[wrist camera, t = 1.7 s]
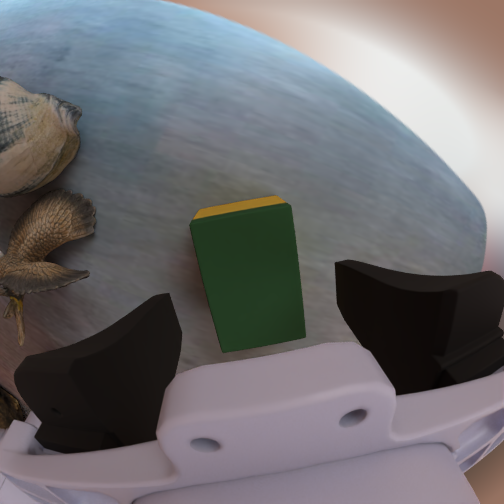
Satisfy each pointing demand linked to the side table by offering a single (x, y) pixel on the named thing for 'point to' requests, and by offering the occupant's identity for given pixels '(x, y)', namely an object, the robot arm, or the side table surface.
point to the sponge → (250, 272)
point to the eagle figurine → (42, 249)
